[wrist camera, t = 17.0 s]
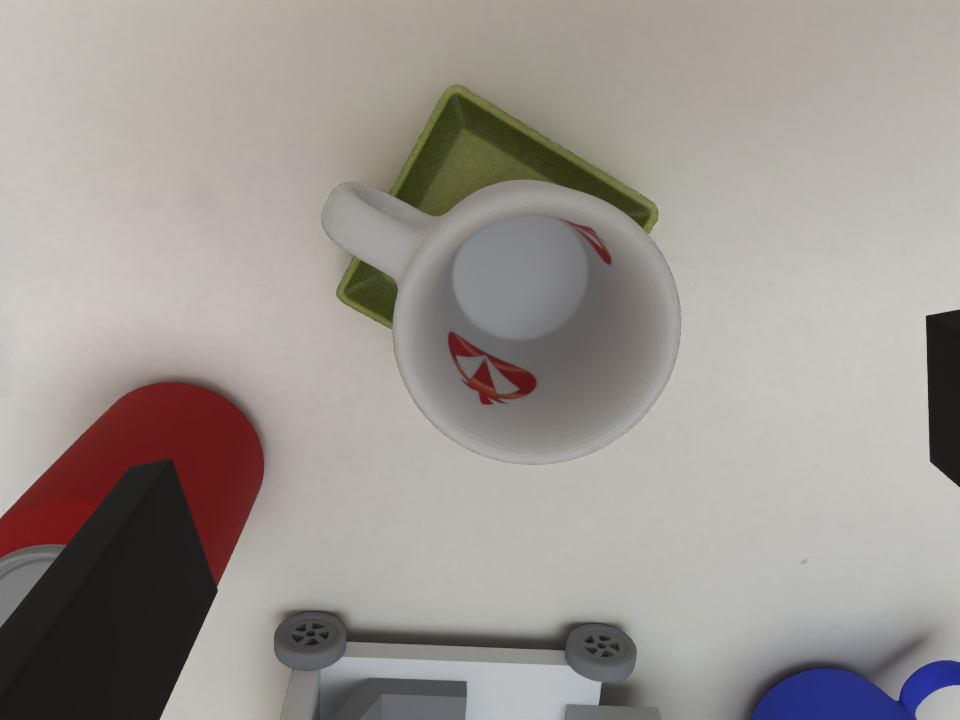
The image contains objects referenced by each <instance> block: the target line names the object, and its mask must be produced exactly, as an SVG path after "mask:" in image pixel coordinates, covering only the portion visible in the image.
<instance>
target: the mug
mask: <svg viewBox="0 0 960 720" xmlns="http://www.w3.org/2000/svg"><path fill="white" fill-rule="evenodd" d="M951 685H960V662H956V661H952V660H942V661H937V662H932V663H930V664H927V665H925V666H923V667H921V668H920V669H918V670H917V671H916V672H914V673H913V674H912V675H911V676H910V677H909V678H908V679H907V681H906V682H905V683H904V685H903V687H902V689H901V692H900V696H899V701H895V700H894V699H892V698H891V697H889V696H888V695H887V694H886V693H885V692H883V691H882V690H881V689H880V688H879V687H877V686H876V685H875V684H873V683H872V682H870V681H869V680H867V679H865V678H863V677H861V676H859V675H857V674H854V673H852V672H848V671H844V670H839V669H814V670H808V671H805V672H801V673H798V674H795V675H793V676H791V677H788V678H786V679H785V680H783V681H781V682H780V683H778V684H777V685H775V686H774V687H773V688H772V689H770V690H769V691H768V692H767V693H766V694H765V696H764V697H763V698H762V699H761V700H760V702H759V703H758V705H757V707H756V708H755V710H754V712H753V714H752V717H751V720H917V719H916V717H915V712H916V709H917V707H918V705H919V704H920V703H921V702H922V701H923V700H924V699H925V698H926V697H927V696H928V695H930V694H931V693H932V692H934V691H936V690H938V689H940V688H943V687H946V686H951Z"/></svg>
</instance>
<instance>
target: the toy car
mask: <svg viewBox="0 0 960 720" xmlns="http://www.w3.org/2000/svg"><path fill="white" fill-rule="evenodd" d="M346 640H347V632H346V628H345V626H344V624H343V623H342V622H341V621H340V620H339V619H338V618H336V617H334V616H332V615H329V614H326V613H320V612H306V613H301V614H297V615H294V616H292V617H289V618H288V619H286V620H285V621H283V622H282V623H281V624H280V625H279V626H278V628H277V629H276V632H275V635H274V651H275V655H276V657H277V658H278V660H279V661H280V662H281V663H282V664H284V665H285V666H287V667H289V668H292V669H293V671H292V675H291V679H290V683H289V687H288V690H287V694H286V698H285V702H284V706H283V709H282V713H281V717H280V720H661V717H660V713H659V710H658V708H656V707H629V706H603V705H599V698H600V691H601V684H602V682H616V681H620V680H623V679H625V678H626V677H628V676H629V675H630V674H631V673H632V671H633V670H634V667H635V661H636V654H637V650H636V646H635V644H634V642H633V641H632V639H631V638H630V637H629V636H628V635H627V634H625V633H624V632H622V631H621V630H619V629H616V628H614V627H611V626H608V625H603V624H587V625H582V626H579V627H577V628H575V629H574V630H573V631H571V633H570V634H569V635H568V638H567V642H566V650H565V651H562V650H537V649H512V648H488V647H463V646H438V645H414V644H389V643H364V642H346Z"/></svg>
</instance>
